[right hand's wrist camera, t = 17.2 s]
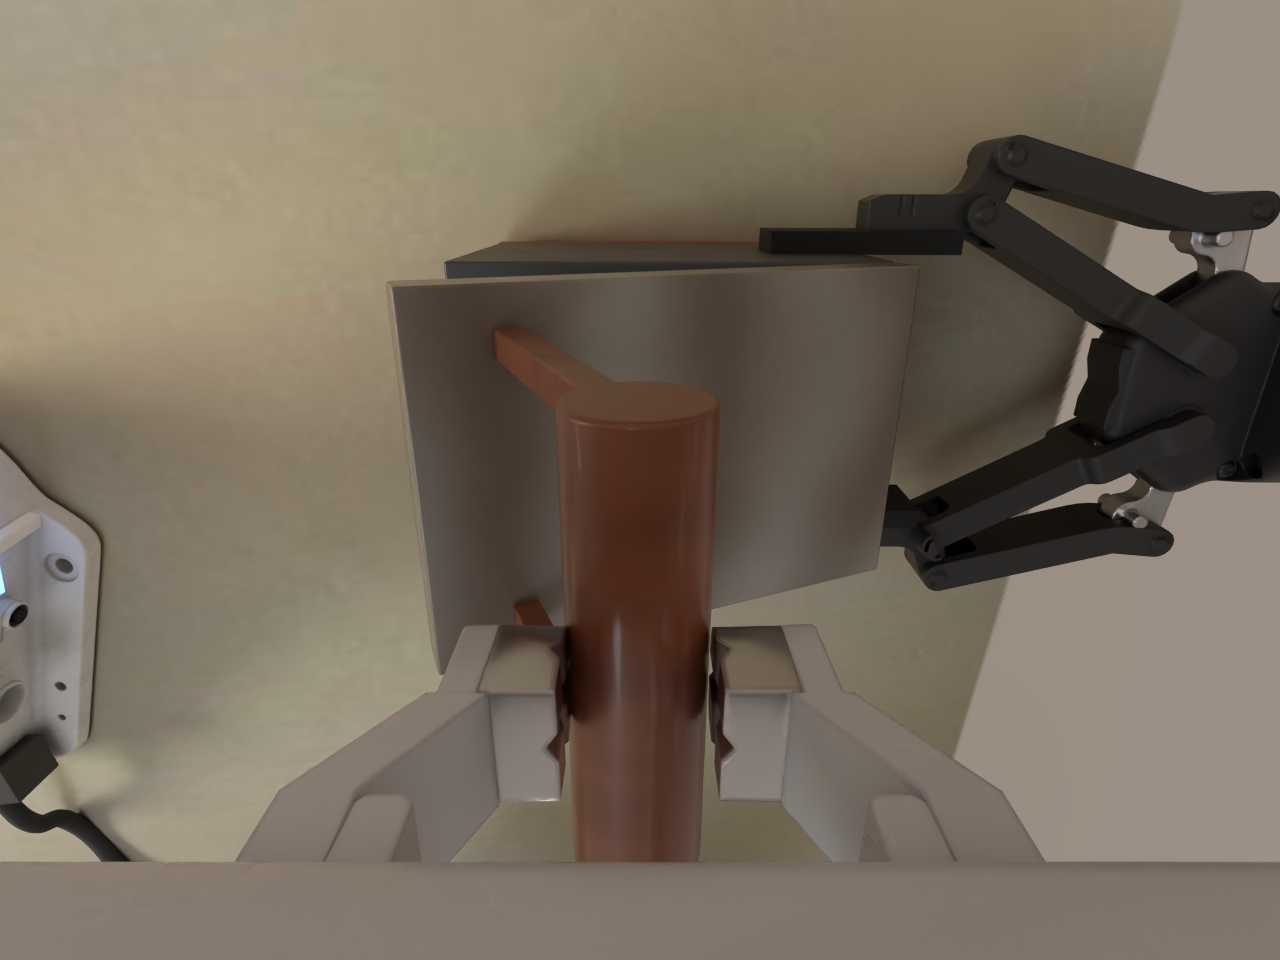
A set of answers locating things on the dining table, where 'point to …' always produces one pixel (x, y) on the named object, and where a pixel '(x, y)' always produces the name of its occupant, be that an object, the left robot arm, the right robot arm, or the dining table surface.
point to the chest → (627, 258)
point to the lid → (645, 486)
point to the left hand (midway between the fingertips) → (755, 382)
